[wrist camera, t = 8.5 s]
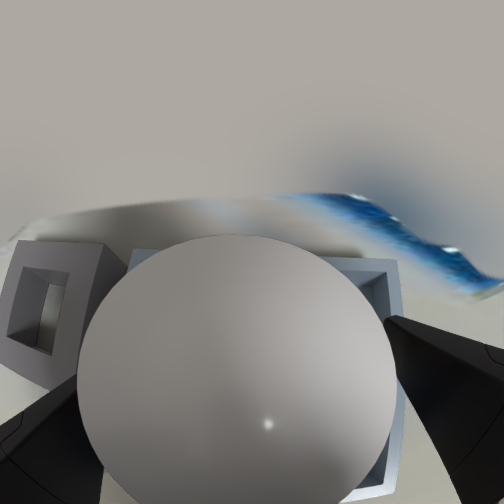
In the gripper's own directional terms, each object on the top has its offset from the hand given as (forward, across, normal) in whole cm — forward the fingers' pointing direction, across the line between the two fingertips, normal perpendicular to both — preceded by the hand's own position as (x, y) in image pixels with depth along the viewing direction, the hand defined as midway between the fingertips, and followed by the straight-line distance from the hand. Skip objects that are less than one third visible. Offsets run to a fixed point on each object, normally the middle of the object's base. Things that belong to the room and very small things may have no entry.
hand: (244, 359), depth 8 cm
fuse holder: (+9, +14, +3) cm, 17 cm away
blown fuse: (+5, 0, +6) cm, 8 cm away
